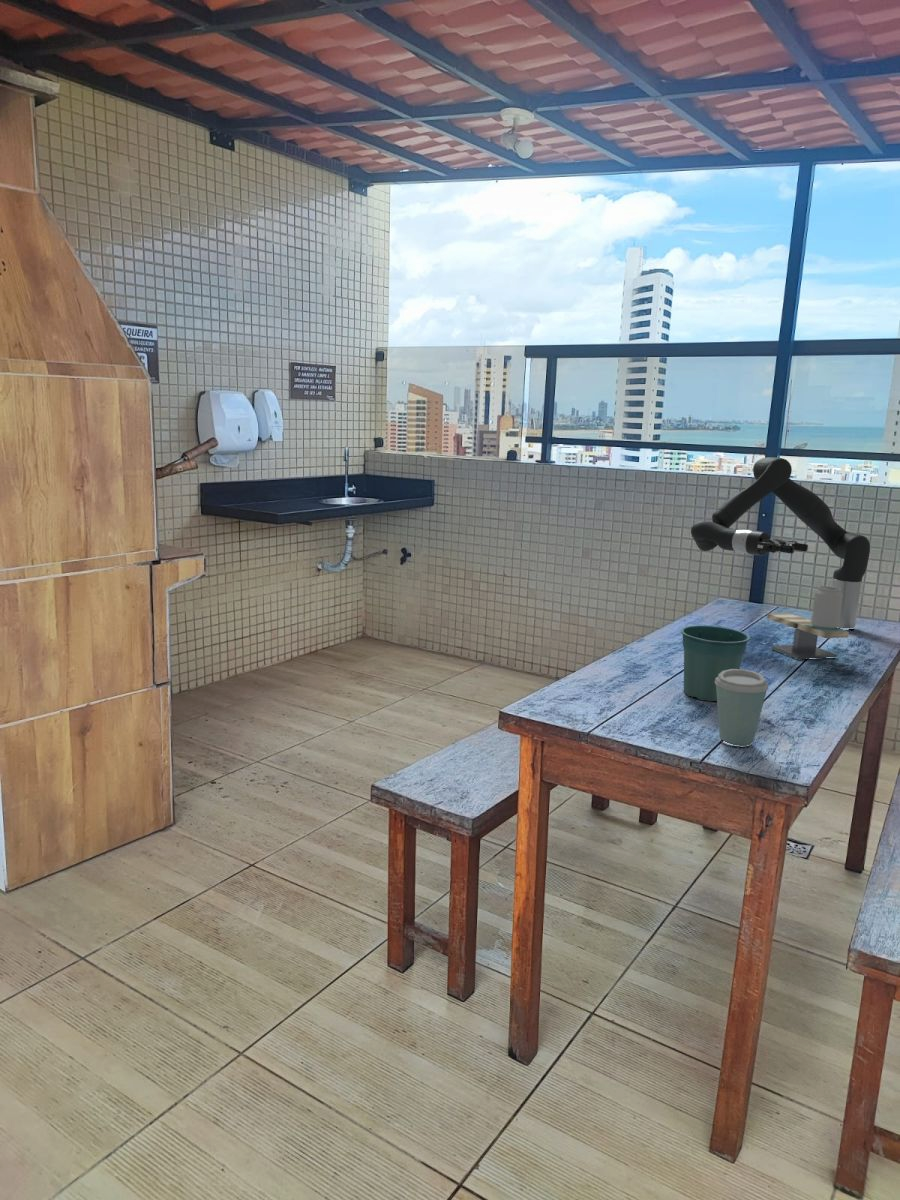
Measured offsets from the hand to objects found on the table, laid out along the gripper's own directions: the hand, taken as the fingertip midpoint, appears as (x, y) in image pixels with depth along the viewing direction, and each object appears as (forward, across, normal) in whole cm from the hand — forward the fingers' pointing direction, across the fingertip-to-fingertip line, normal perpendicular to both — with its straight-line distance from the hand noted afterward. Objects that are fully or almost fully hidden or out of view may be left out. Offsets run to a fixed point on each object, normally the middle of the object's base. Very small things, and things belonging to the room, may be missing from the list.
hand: (800, 549), depth 252 cm
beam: (+4, +2, +23) cm, 23 cm away
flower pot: (+10, -61, +32) cm, 70 cm away
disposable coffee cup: (+32, -86, +32) cm, 97 cm away
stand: (+4, +2, +32) cm, 32 cm away
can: (+11, -2, +22) cm, 25 cm away
